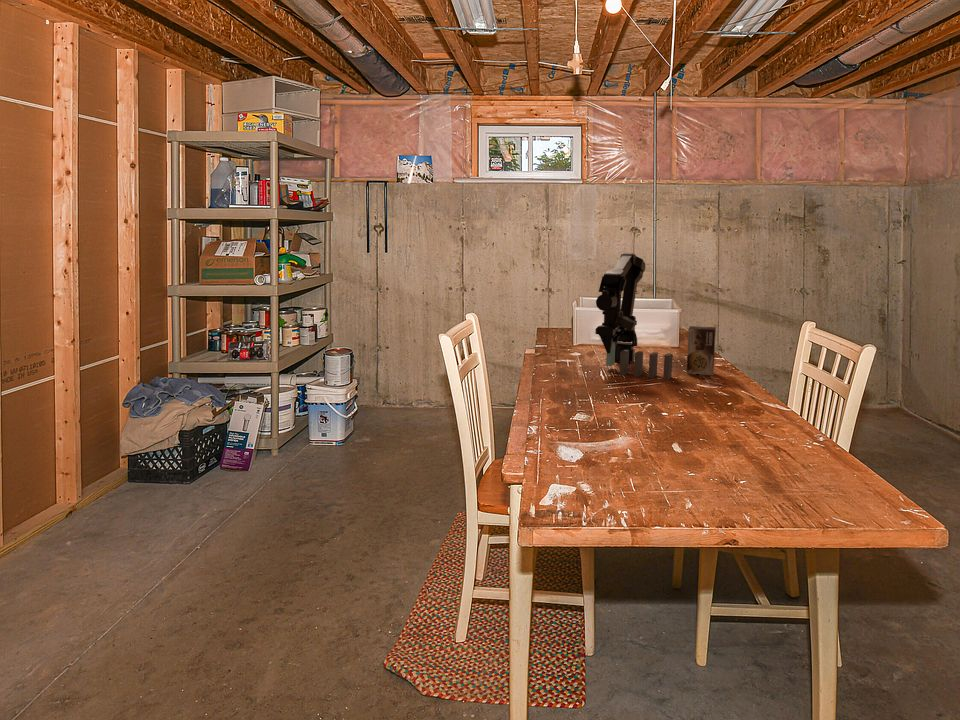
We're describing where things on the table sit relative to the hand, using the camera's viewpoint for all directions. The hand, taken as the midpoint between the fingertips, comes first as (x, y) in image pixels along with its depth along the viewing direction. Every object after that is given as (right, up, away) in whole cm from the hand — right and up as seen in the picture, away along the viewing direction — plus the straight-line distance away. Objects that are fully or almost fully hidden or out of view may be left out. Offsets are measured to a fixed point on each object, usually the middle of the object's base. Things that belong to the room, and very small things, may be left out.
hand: (610, 352), depth 275 cm
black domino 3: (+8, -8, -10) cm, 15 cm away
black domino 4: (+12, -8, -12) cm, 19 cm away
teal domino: (0, -5, +1) cm, 5 cm away
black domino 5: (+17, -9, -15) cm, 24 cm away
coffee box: (+30, -8, -6) cm, 31 cm away
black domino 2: (+3, -8, -8) cm, 12 cm away
